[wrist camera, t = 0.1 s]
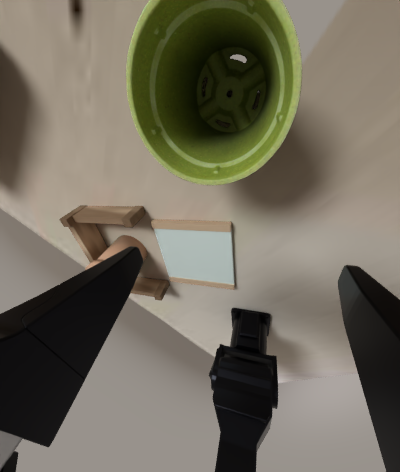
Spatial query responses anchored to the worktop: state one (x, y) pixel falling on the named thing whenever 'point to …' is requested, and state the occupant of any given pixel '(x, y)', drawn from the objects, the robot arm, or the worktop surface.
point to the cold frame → (94, 245)
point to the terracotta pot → (120, 249)
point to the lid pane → (197, 251)
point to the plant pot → (213, 85)
